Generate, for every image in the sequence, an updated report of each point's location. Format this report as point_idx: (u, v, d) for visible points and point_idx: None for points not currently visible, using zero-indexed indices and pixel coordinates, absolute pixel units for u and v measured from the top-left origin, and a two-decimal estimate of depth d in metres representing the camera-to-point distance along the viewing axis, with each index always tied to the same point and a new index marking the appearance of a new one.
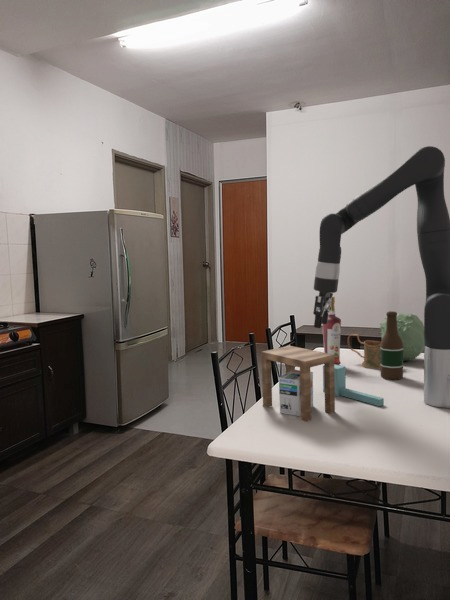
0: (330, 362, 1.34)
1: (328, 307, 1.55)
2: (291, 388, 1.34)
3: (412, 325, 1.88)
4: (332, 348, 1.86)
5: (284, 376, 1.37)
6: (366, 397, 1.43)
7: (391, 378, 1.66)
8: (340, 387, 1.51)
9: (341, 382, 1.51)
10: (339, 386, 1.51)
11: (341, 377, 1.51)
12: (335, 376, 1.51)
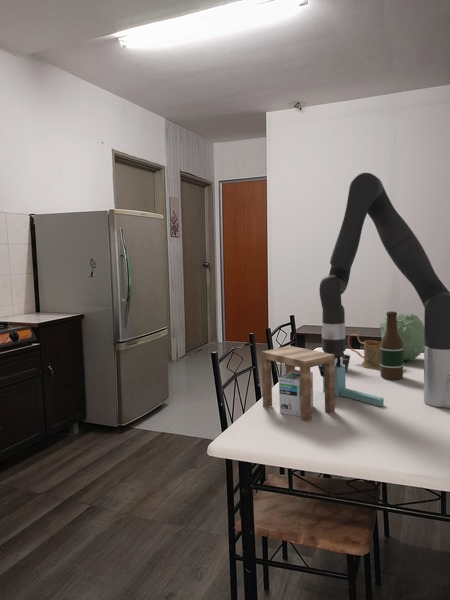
0: (330, 362, 1.34)
1: None
2: (291, 388, 1.34)
3: (412, 325, 1.88)
4: None
5: (284, 376, 1.37)
6: (366, 397, 1.43)
7: (391, 378, 1.66)
8: (340, 387, 1.51)
9: (341, 382, 1.51)
10: (339, 386, 1.51)
11: (341, 377, 1.51)
12: (335, 376, 1.51)
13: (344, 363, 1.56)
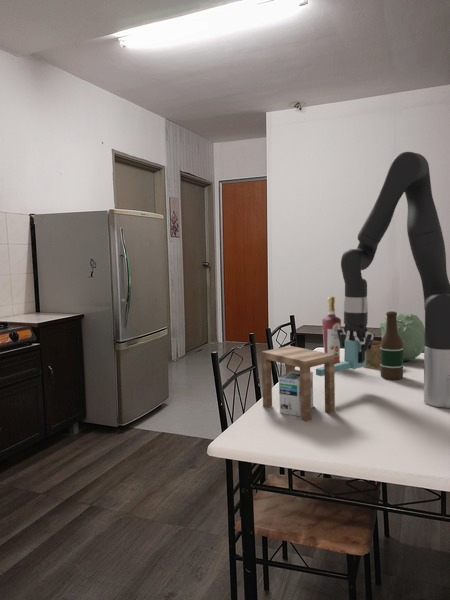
0: (330, 362, 1.34)
1: None
2: (291, 388, 1.34)
3: (412, 325, 1.88)
4: (332, 348, 1.86)
5: (284, 376, 1.37)
6: None
7: (391, 378, 1.66)
8: (347, 360, 1.54)
9: (349, 355, 1.53)
10: (346, 359, 1.54)
11: (349, 350, 1.53)
12: None
13: None
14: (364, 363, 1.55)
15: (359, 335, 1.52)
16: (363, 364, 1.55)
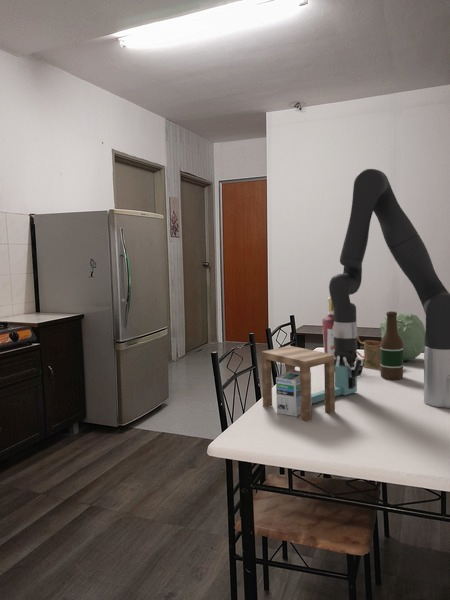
0: (330, 362, 1.34)
1: None
2: (288, 389, 1.34)
3: (412, 325, 1.88)
4: (332, 348, 1.86)
5: (281, 376, 1.37)
6: None
7: (391, 378, 1.66)
8: (338, 385, 1.52)
9: (339, 381, 1.51)
10: (337, 384, 1.52)
11: (339, 376, 1.51)
12: None
13: None
14: (355, 388, 1.53)
15: (349, 360, 1.50)
16: (354, 389, 1.53)
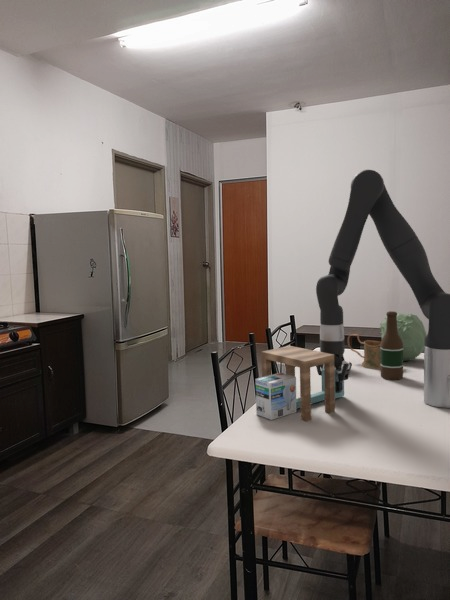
0: (330, 362, 1.34)
1: None
2: (264, 391, 1.32)
3: (412, 325, 1.88)
4: None
5: (261, 378, 1.35)
6: None
7: (391, 378, 1.66)
8: None
9: None
10: (324, 388, 1.48)
11: None
12: None
13: None
14: (342, 392, 1.49)
15: (336, 364, 1.46)
16: (341, 394, 1.49)
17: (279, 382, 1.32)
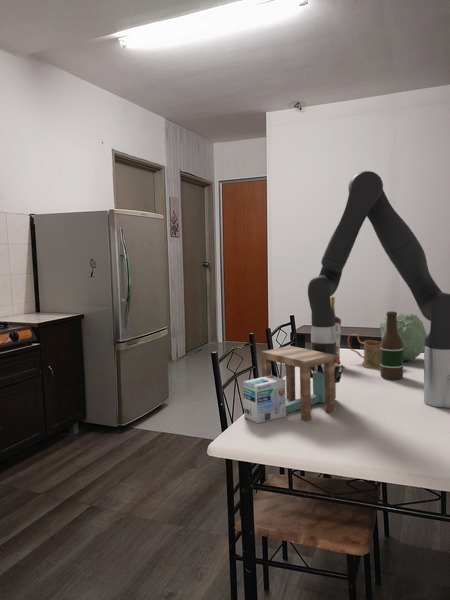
0: (330, 362, 1.34)
1: None
2: (251, 394, 1.30)
3: (412, 325, 1.88)
4: None
5: (249, 380, 1.33)
6: None
7: (391, 378, 1.66)
8: (316, 392, 1.45)
9: (317, 388, 1.45)
10: (315, 391, 1.46)
11: (317, 383, 1.45)
12: None
13: None
14: None
15: None
16: None
17: (266, 385, 1.30)
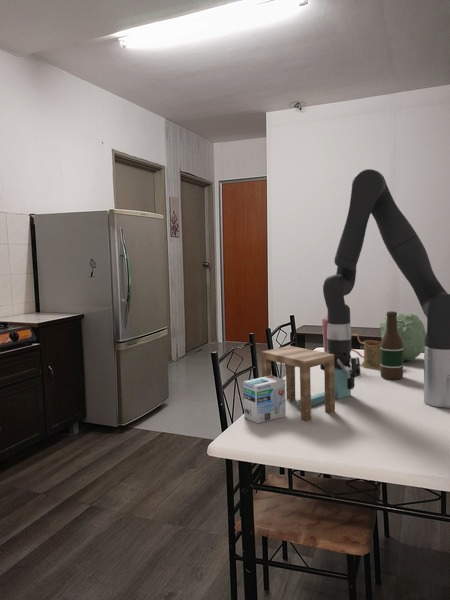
0: (330, 362, 1.34)
1: None
2: (251, 394, 1.30)
3: (412, 325, 1.88)
4: None
5: (249, 380, 1.33)
6: None
7: (391, 378, 1.66)
8: None
9: None
10: None
11: None
12: None
13: None
14: (349, 392, 1.51)
15: (343, 361, 1.47)
16: (348, 393, 1.51)
17: (266, 385, 1.30)
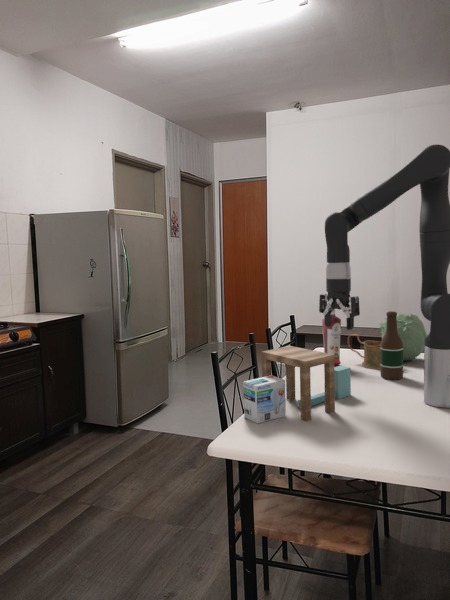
0: (330, 362, 1.34)
1: None
2: (251, 394, 1.30)
3: (412, 325, 1.88)
4: (332, 348, 1.86)
5: (249, 380, 1.33)
6: None
7: (391, 378, 1.66)
8: None
9: None
10: None
11: None
12: None
13: None
14: (349, 392, 1.51)
15: (342, 301, 1.45)
16: (348, 393, 1.51)
17: (266, 385, 1.30)
